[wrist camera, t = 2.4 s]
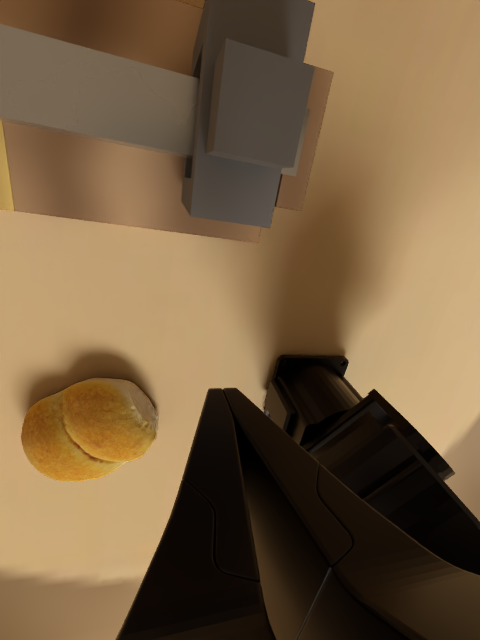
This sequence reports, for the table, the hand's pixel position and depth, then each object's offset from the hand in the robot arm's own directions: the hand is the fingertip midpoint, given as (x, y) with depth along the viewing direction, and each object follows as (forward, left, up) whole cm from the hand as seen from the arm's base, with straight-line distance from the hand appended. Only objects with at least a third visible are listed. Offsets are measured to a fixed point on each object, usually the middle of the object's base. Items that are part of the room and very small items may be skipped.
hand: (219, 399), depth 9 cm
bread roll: (+6, +12, -13) cm, 19 cm away
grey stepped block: (-1, -8, -11) cm, 13 cm away
